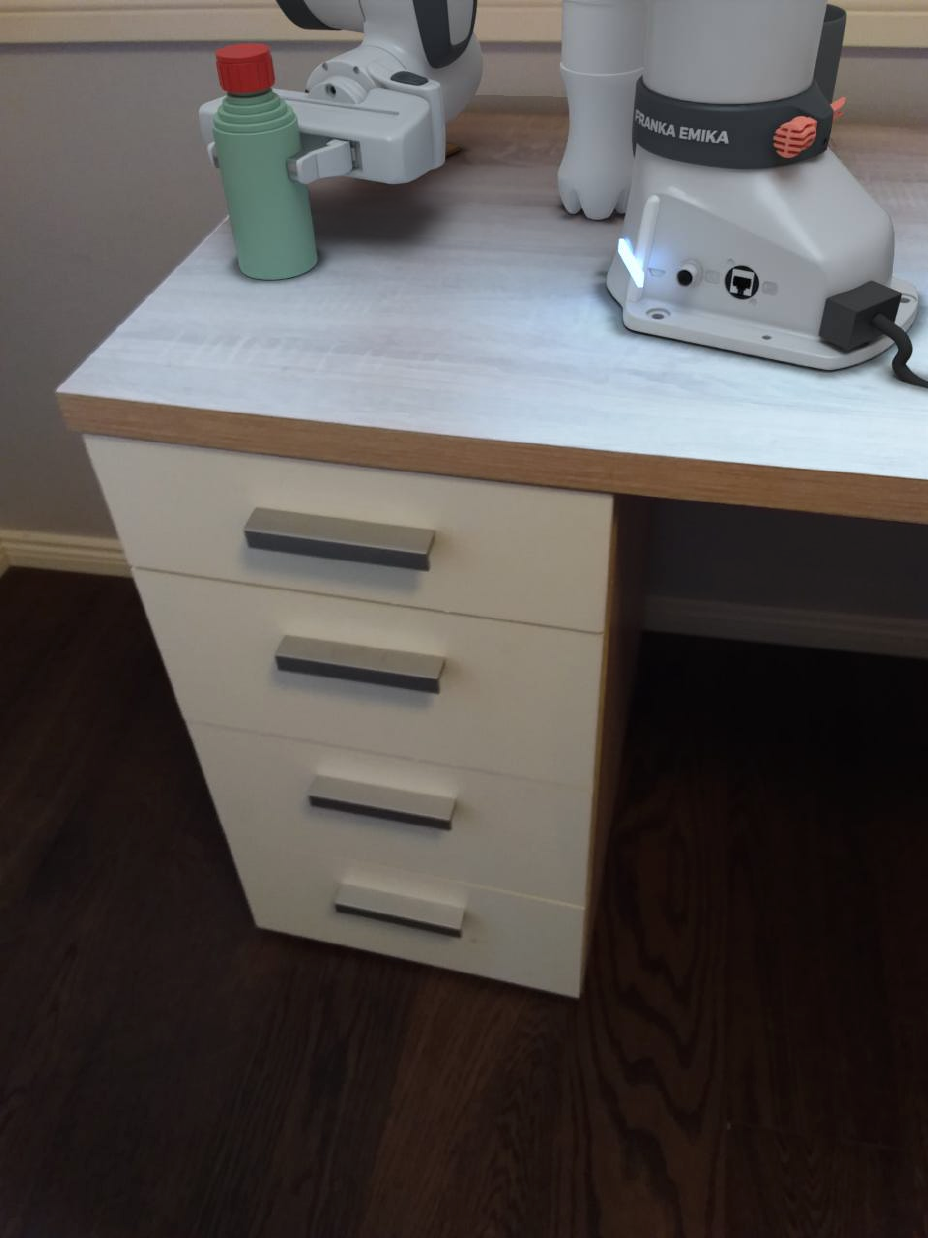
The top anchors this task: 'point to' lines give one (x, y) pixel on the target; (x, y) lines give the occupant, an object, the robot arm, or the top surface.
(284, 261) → the bottle
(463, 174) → the top surface
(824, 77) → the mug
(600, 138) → the water bottle
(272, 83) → the cap
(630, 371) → the top surface
